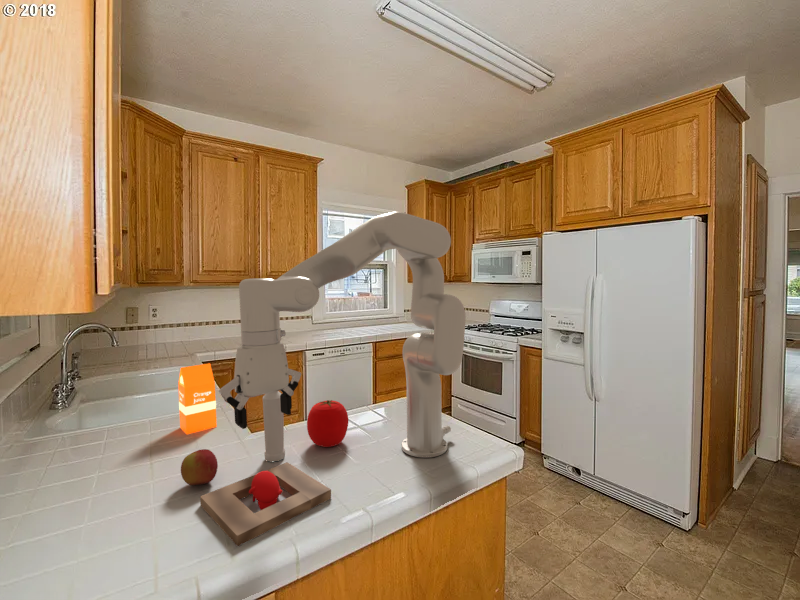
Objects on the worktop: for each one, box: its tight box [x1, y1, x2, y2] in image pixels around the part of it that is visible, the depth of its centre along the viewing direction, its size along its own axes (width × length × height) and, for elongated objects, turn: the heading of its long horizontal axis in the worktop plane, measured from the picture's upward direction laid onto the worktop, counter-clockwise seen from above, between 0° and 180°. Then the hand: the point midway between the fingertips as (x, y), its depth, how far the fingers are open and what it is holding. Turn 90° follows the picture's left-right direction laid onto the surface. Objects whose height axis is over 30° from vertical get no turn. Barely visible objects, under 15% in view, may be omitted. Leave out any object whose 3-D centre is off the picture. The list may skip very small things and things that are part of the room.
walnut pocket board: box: [199, 461, 332, 547], centre depth 81 cm, size 20×18×2 cm
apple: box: [180, 448, 218, 486], centre depth 88 cm, size 8×8×8 cm
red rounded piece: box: [249, 470, 283, 511], centre depth 80 cm, size 8×6×6 cm
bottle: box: [262, 390, 286, 462], centre depth 100 cm, size 5×5×25 cm
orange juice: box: [177, 363, 218, 435], centre depth 122 cm, size 8×9×20 cm
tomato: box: [306, 399, 349, 448], centre depth 109 cm, size 12×12×13 cm
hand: (264, 419), depth 80 cm, fingers open, 9 cm apart
